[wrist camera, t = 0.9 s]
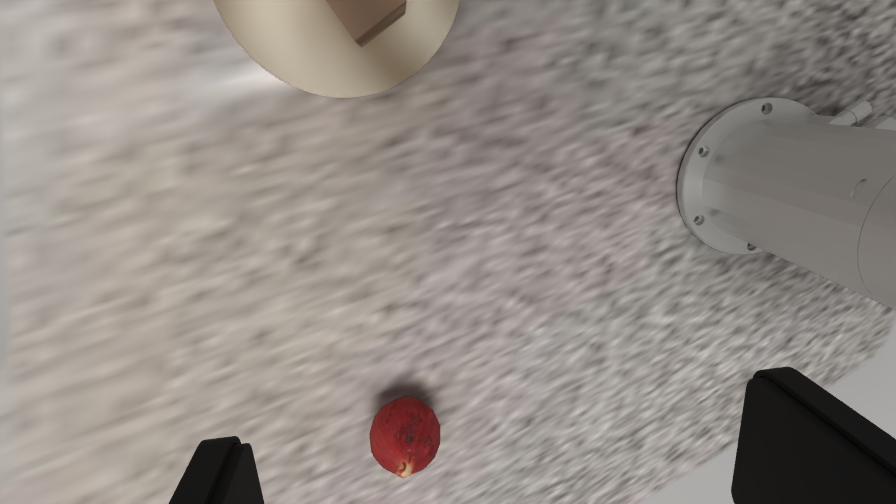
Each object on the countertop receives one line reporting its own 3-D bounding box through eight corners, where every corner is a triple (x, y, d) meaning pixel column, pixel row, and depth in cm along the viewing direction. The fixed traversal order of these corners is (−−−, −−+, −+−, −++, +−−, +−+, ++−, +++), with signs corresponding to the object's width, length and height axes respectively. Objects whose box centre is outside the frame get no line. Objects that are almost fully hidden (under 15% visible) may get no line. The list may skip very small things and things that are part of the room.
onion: (382, 373, 44) (379, 433, 37) (445, 387, 45) (455, 448, 38) (364, 428, 46) (358, 496, 38) (425, 440, 47) (431, 509, 39)
